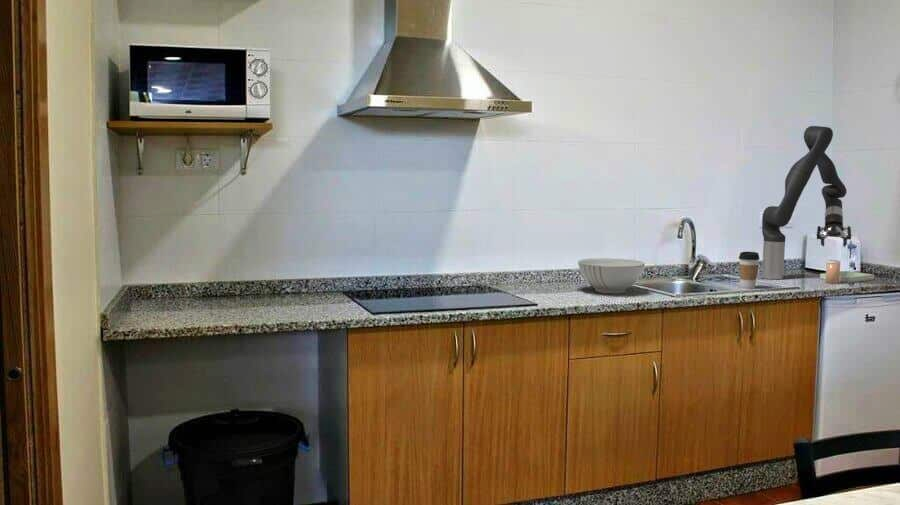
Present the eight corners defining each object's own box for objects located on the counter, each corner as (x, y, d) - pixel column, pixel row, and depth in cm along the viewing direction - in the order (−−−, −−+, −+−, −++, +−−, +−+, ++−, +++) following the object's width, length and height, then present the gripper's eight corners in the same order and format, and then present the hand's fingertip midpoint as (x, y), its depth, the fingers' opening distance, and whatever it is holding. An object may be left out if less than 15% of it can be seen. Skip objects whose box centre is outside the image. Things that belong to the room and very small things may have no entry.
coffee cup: (759, 287, 333) (761, 252, 331) (755, 289, 326) (757, 254, 324) (739, 285, 338) (741, 251, 336) (735, 287, 330) (736, 252, 329)
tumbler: (825, 283, 345) (827, 261, 344) (824, 281, 350) (826, 259, 349) (839, 284, 343) (841, 261, 342) (838, 282, 348) (839, 260, 347)
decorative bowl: (578, 295, 308) (578, 265, 306) (576, 285, 334) (577, 257, 333) (647, 297, 304) (648, 266, 303) (640, 287, 330) (641, 258, 329)
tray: (848, 283, 347) (849, 277, 347) (819, 279, 359) (820, 273, 359) (873, 279, 358) (874, 274, 357) (844, 276, 369) (845, 270, 369)
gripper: (817, 212, 364) (816, 240, 355) (851, 212, 358) (851, 240, 349) (816, 223, 369) (816, 250, 360) (850, 223, 363) (850, 250, 354)
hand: (833, 245), depth 355 cm, fingers open, 8 cm apart
